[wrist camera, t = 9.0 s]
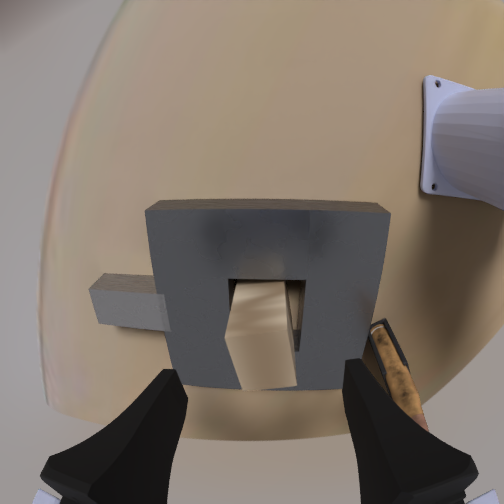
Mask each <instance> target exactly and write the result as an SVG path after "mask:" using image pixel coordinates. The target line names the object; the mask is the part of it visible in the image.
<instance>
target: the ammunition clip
mask: <svg viewBox="0 0 504 504" xmlns="http://www.w3.org/2000/svg"><path fill="white" fill-rule="evenodd" d="M368 338H369V341H370V343H371V346H372V348H373V351H374V354H375V356H376V359H377V362H378V364H379V367H380V370H381V373H382V375H383V378H384V381H385V384H386V387H387V390H388V393H389V396H390V397H391V398H392V400H393V401H394V402H395V403H396V404H397V405H398V406H399V407H400V408H401V409H402V410H403V411H404V412H405V413H406V414H407V415H408V416H410V417H411V418H412V419H413V420H414V421H415V422H416V423H418V424H419V425H420V426H421V427H423V428H424V429H425V430H427V431H428V432H429V430H428V426H427V423H426V420H425V417H424V413H423V410H422V407H421V403H420V397H419V394H418V391H417V389H416V386H415V384H414V382H413V380H412V377H411V375H410V370H409V366H408V362H407V360H406V358H405V356H404V354H403V352H402V350H401V348H400V346H399V344H398V342H397V339H396V337H395V335H394V333H393V331H392V329H391V327H390V325H389V324H388V322H387V320H386V318H384V319H382V320H380V321H378V322H376V323H374V324H372V325H370V329H369V333H368Z"/></svg>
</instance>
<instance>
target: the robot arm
mask: <svg viewBox="0 0 504 504" xmlns="http://www.w3.org/2000/svg"><path fill="white" fill-rule="evenodd" d="M435 81H436V82H437V83H438V85H439V86H438V87H436V85H435ZM423 87H424V137H423V157H422V171H421V182H420V188H421V190H422V191H423V192H425V193H427V194H435V195H444V196H452V197H460V198H467V199H475V200H481V201H484V202H487V203H489V204H491V205H493V206H495V207H497V208H499V209H501V210H503V211H504V88H493V89H481V90H475V89H473V88H470V87H467V86H464V85H461V84H458V83H455V82H452V81H449V80H446V79H442V78H439V77H435V76H432V75H428V76H425V77H424V79H423ZM433 183H434V184H435V188H434V189H433V190H432V184H433ZM342 394H343V401H344V408H345V413H346V417H347V421H348V425H349V429H350V433H351V437H352V441H353V444H354V448H355V453H356V458H357V464H358V473H359V482H360V494H361V504H465V503H464V500H463V499H464V498H465V497H466V494H465V491H464V490H465V489H466V488H467V487H468V486H469V485H470V484H471V483H472V482H473V481H474V480H475V479H476V478H477V476H478V474H479V473H478V470H477V467H476V465H475V463H474V461H473V459H472V458H471V455H468V454H466V453H464V452H462V451H460V450H457V449H455V448H453V447H452V446H450V445H448V444H446V443H445V442H443V441H441V440H440V439H438V438H437V437H435V436H434V435H432V434H431V433H429V432H428V431H427V430H425V429H424V428H423V427H421V426H420V425H419V424H418V423H416V422H415V421H414V420H413V419H412V418H411V417H410V416H408V415H407V414H406V413H405V412H404V411H403V410H402V409H401V408H400V407H399V406H398V405H397V404H396V403H395V402H394V401H393V400H392V398H391V397H390V396H389V395H388V394H387V393H386V391H385V390H384V389H383V388H382V387H381V386H380V384H379V383H378V382H377V380H376V379H375V378H374V376H373V375H372V374H371V372H370V371H369V370H368V368H367V367H366V365H365V364H364V362H363V361H362V359H360V358H355V359H349V360H345V369H344V379H343V388H342ZM187 403H188V397H187V395H186V392H185V390H184V388H183V385H182V383H181V381H180V378H179V376H178V373H177V371H176V369H163V370H162V371H161V372H160V373H159V374H158V375H157V376H156V378H155V379H154V380H153V381H152V382H151V383H150V384H149V385H148V387H147V388H146V389H145V390H144V391H143V392H142V393H141V394H140V395H139V396H138V397H137V399H136V400H135V401H134V402H133V403H132V404H131V405H130V406H129V407H128V408H127V409H126V410H125V411H124V412H122V413H121V414H120V415H119V416H118V417H117V418H116V419H115V420H113V421H112V422H111V423H110V424H108V425H107V426H106V427H105V428H103V429H102V430H100V431H99V432H97V433H96V434H94V435H93V436H91V437H90V438H88V439H86V440H85V441H83V442H81V443H80V444H77V445H75V446H73V447H71V448H69V449H67V450H65V451H62V452H60V453H58V454H55V455H52V456H50V457H49V458H48V460H47V462H46V464H45V466H44V468H43V470H42V472H41V474H40V477H41V479H42V480H43V481H44V482H45V483H46V484H48V485H49V486H50V487H51V488H53V489H54V490H55V491H57V492H58V493H59V494H61V495H62V496H63V497H62V499H61V500H60V499H58V498H57V497H55V496H53V495H51V494H49V493H47V492H45V491H43V490H41V489H38V491H37V494H36V496H35V498H34V500H33V502H32V504H167V497H168V488H169V479H170V473H171V467H172V462H173V458H174V454H175V451H176V448H177V444H178V441H179V438H180V434H181V431H182V428H183V424H184V421H185V416H186V410H187ZM466 504H499V501H498V498H497V495H496V492H495V489H492V490H490V491H488V492H486V493H484V494H482V495H481V496H479V497H477V498H475V499H473V500H471V501H469V502H467V503H466Z"/></svg>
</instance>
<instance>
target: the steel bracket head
mask: <svg viewBox="0 0 504 504" xmlns="http://www.w3.org/2000/svg"><path fill="white" fill-rule="evenodd" d="M390 216H391V213H390V212H388V211H387V210H386V209H384V208H383V207H382V206H380V205H379V204H378V203H369V202H350V201H327V200H294V199H192V200H160V201H158V202H157V203H155V204H154V205H152V206H151V207H149V208H148V209H146V210H145V217H146V226H147V233H148V241H149V248H150V255H151V262H152V268H153V274H154V276H147V275H126V274H107V273H104V274H103V275H102V276H101V277H100V278H99V279H98V280H97V281H96V282H95V283H94V284H93V285H92V286H91V287H90V288H89V292H90V296H91V299H92V303H93V306H94V310H95V313H96V316H97V319H98V322H99V323H100V324H107V325H115V326H122V327H131V328H139V329H149V330H159V331H164V332H165V337H166V342H167V346H168V350H169V355H170V359H171V363H172V367H173V369H176V371H177V373H178V376H179V378H180V381H181V383H182V384H183V385H192V386H202V387H213V388H227V389H242V387H241V384H240V382H239V379H238V376H237V373H236V370H235V367H234V365H233V362H232V359H231V356H230V353H229V350H228V347H227V344H226V341H225V333H226V329H227V324H228V320H229V315H230V311H231V306H232V302H233V297H234V279H275V280H301V288H300V301H299V313H298V324H297V330H293V339H294V352H295V365H296V379H297V386H291V387H283V388H274V389H264V390H327V389H342V388H343V379H344V369H345V360H349V359H355V358H360V359H362V355H363V352H364V348H365V344H366V341H367V337H368V333H369V329H370V325H371V321H372V317H373V312H374V308H375V303H376V299H377V294H378V289H379V284H380V279H381V274H382V269H383V263H384V257H385V251H386V245H387V238H388V231H389V224H390Z"/></svg>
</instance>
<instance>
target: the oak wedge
mask: <svg viewBox="0 0 504 504" xmlns="http://www.w3.org/2000/svg"><path fill="white" fill-rule="evenodd" d="M225 341H226V344H227V347H228V350H229V353H230V356H231V359H232V362H233V365H234V367H235V370H236V373H237V376H238V379H239V382H240V384H241V387H242V390H243V391H253V390H264V389H274V388H283V387H291V386H297V379H296V365H295V352H294V339H293V327H292V316H291V309H290V303H289V297H288V292H287V286H286V280H275V279H237V284H236V288H235V293H234V297H233V302H232V306H231V311H230V315H229V320H228V324H227V329H226V333H225Z"/></svg>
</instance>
